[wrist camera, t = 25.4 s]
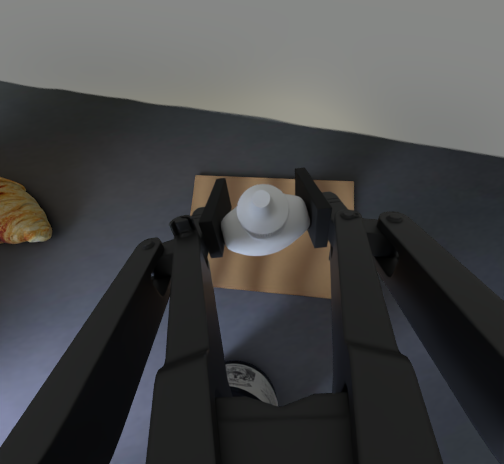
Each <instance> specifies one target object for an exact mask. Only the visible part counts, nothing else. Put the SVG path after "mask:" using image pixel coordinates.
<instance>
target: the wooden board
mask: <svg viewBox="0 0 504 464" xmlns="http://www.w3.org/2000/svg"><path fill="white" fill-rule="evenodd" d="M220 178H225V179H226V183H227V188H228V192H229V197H230V201H231V206H232V208H231V211H232V210H233V209H234V208H236V207H237V206H238V205H237V204H238V201H239V199H240V196H242V194H243V192H245V190H247V189H249V188H250V187H252V186H254V185H257V184H258V185H259V184H266V185H267V184H269V185H271V186H274V187H276V188H278V189H279V190H280V191H282V193H284V194H289V195H295V179H277V178H252V177H226V176H201V175H196V176H195V184H194V192H193V199H192V207H191V215H190V216H192V214H193V212H194V211H195V210H196V209H197V208H199V207H205V205H206V203H207V200H208V198H209V196H210V193H211V191H212V188H213V186H214V183H215V181H216V179H220ZM314 182H315V183H316V185H317V186H318V188H319V189H320V191H321V192H329V191H330V192H332V193H334V194H336V195H337V196H338V197H339V199H340V200H341V202H343V204H344V205H345V206H346V207H347V209H348V210H353V211H354V181H329V180H314ZM330 245H331V244H330V242H329V240H328V244H327V247H323V248H314V246H313V244H312V241H311V238H310V236H309V233H308V231H307V230H306V232H305V233H303V234H302V235H301V236H300V237H299V238H298V239H297V240H295V241H294V242H293V243H292V244H290V245H289V246H288V247H286V248H284V249H282V250H280V251H278V252H276V253H273V254H269V255H264V256H248V255H243V254H239V253H236V252H233V251H231V250H229V249H228V248H227V246H226V245H225V247H224V253H223V257H220V258H211V257H210V254H209V253H208V257H207V258H208V260H209V264H210V271H211V277H212V283H213V287H219V288H229V289H239V290H249V291H259V292H269V293H279V294H289V295H299V296H309V297H319V298H329V299H331V277H330V260H329V252H330Z"/></svg>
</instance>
